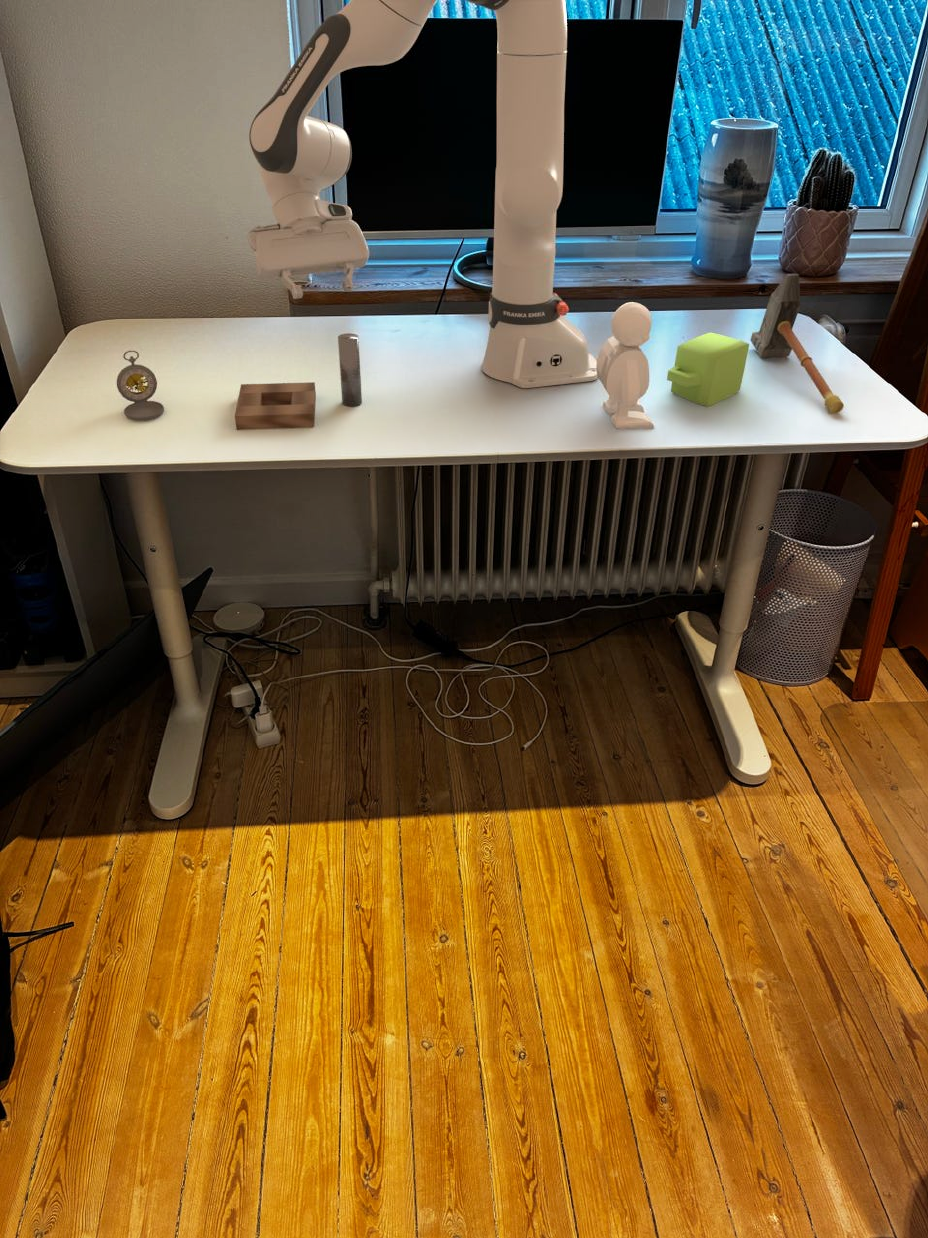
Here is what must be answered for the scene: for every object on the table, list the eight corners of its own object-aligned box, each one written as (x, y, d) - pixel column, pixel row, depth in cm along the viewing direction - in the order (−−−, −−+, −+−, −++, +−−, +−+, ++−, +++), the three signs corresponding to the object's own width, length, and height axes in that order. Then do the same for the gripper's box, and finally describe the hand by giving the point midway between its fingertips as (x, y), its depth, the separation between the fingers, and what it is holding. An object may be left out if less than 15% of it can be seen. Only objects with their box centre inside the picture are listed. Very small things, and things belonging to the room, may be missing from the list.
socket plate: (315, 395, 172) (314, 382, 171) (314, 427, 162) (313, 413, 160) (242, 397, 171) (241, 384, 169) (236, 429, 161) (234, 415, 159)
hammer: (838, 363, 161) (773, 267, 181) (807, 440, 174) (749, 342, 193) (872, 362, 162) (803, 266, 182) (838, 438, 174) (777, 341, 194)
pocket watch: (144, 425, 161) (132, 369, 155) (109, 413, 165) (97, 358, 159) (179, 408, 167) (169, 353, 161) (145, 397, 170) (134, 343, 164)
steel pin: (361, 398, 172) (358, 332, 164) (362, 406, 169) (358, 340, 162) (342, 398, 171) (337, 333, 164) (342, 406, 168) (337, 340, 161)
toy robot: (657, 432, 162) (674, 316, 150) (606, 434, 161) (619, 318, 149) (635, 398, 173) (650, 288, 161) (587, 400, 172) (598, 289, 160)
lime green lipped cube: (708, 369, 185) (717, 321, 179) (752, 384, 179) (763, 335, 173) (652, 395, 175) (660, 345, 169) (698, 412, 169) (707, 361, 163)
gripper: (246, 217, 163) (269, 292, 162) (358, 205, 170) (381, 277, 169) (242, 237, 169) (264, 309, 168) (351, 225, 176) (372, 294, 175)
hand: (324, 293), depth 169 cm, fingers open, 8 cm apart
